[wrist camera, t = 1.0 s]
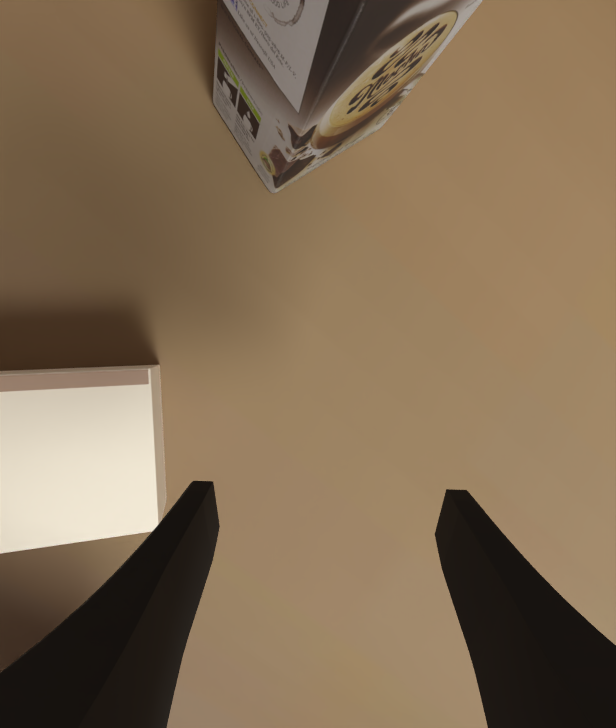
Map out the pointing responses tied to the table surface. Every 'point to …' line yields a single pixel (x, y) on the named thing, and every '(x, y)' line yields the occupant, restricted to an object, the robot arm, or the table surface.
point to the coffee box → (321, 73)
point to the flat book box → (80, 455)
